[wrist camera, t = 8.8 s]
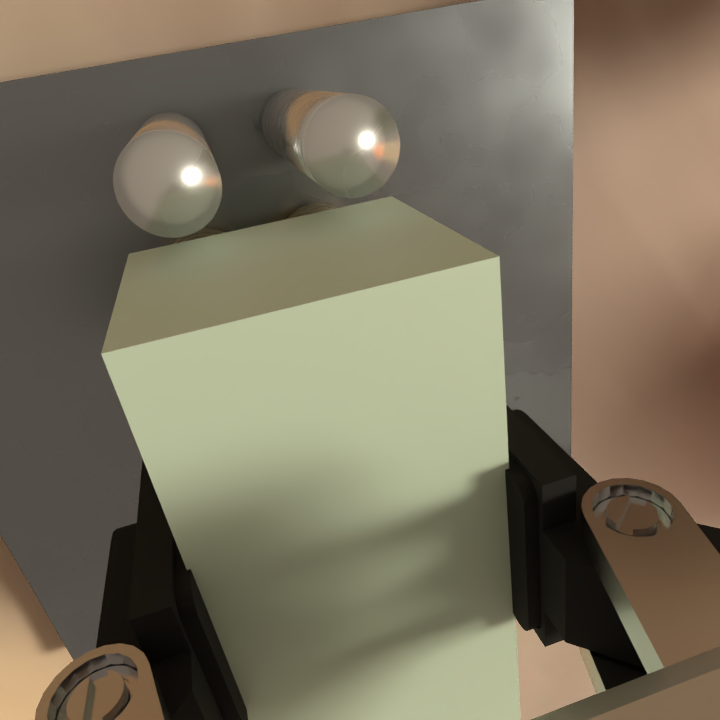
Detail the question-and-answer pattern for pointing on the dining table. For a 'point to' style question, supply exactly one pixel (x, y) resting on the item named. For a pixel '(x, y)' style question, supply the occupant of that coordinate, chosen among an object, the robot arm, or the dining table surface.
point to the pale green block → (333, 457)
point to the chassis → (257, 207)
